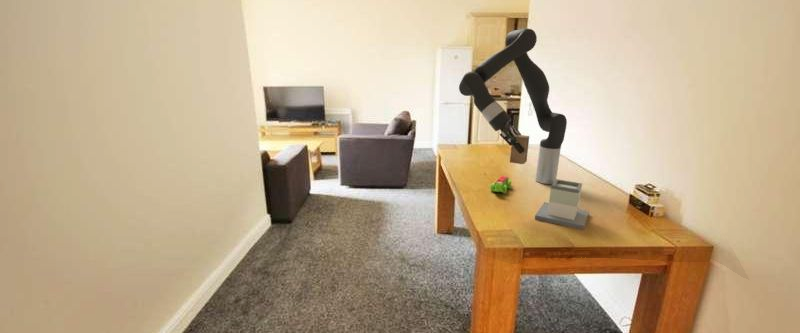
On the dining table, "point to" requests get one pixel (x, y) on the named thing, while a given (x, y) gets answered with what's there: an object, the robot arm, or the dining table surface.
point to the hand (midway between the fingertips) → (524, 150)
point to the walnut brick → (515, 155)
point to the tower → (564, 205)
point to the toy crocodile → (501, 185)
